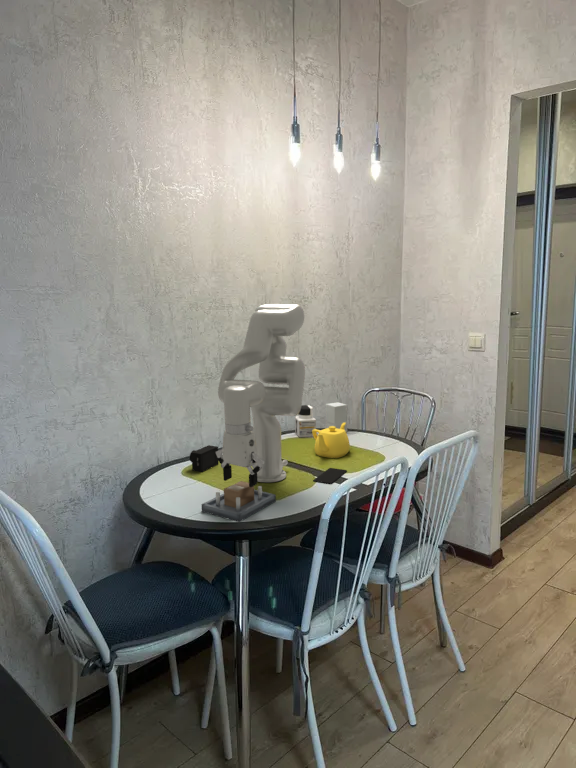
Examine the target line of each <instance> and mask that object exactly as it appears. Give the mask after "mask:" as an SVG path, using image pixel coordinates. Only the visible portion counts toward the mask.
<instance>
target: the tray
mask: <svg viewBox="0 0 576 768" xmlns="http://www.w3.org/2000/svg"><path fill="white" fill-rule="evenodd" d="M276 500H277V497H276V494H275V493H271V492H270V493H269V492H267V491H263V486H262V485H259V486H257V489H255V488H254V500H253V501H251V502H249V503H247V504H245V505H243V506H241V507H240V497H237V498H236V508H234V507H230V506H227V505H224V493H222V494H221V492H220V491H217V492H215V497H214V498H212V499H209V500H208V501H206V502H203V503H202V504H201V512H204V513H206V514H209V515H214V516H216V517H220V518H223V519H228V520H231V521H235V522H238V523H240V522H242V521H245V519H247V518H249V517H251V516H252V515H254V514H256V513H258V512H260V511H261V510H263V509H264V508H267V507H268V506H270V505H272V504H274V503H275V502H276Z"/></svg>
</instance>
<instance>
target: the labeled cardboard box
mask: <svg viewBox="0 0 576 768" xmlns="http://www.w3.org/2000/svg"><path fill="white" fill-rule="evenodd" d="M254 489H255V486H253V487H249V482H247V481H244V480H239V481H238V482H236V483H233V484H232V485H229V486H227V487H225V488H223V494H224V505H227V506H230V507H234V508H236V498H237V497H240V507H241V506H243V505H245V504H247V503H249V502H251V501H253V500H254Z"/></svg>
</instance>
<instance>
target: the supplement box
mask: <svg viewBox="0 0 576 768" xmlns="http://www.w3.org/2000/svg"><path fill="white" fill-rule="evenodd" d="M344 422H345V423H346V424H345V431H346V433H347V432H348V404H345V403H342V402H339V401H337V402H330V403H325V429H326V428H329V427H330V426H335V427H336V428H337V429H340V427H341V425H342V423H344Z"/></svg>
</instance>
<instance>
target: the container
mask: <svg viewBox="0 0 576 768" xmlns="http://www.w3.org/2000/svg"><path fill="white" fill-rule="evenodd" d="M294 417H295V418H294V425H295V426H294V428H295V429H294V431H295V432H294V433H295V434H296V435H297V436H298V437H299V438H309V437H313V434H312V430H313V429H317V420H316V418H315V417H314V408H313V406H311V405H309V404H308V405H307V404H304V405H301V410H300V412H299V414H298V415H296V416H294Z"/></svg>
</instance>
